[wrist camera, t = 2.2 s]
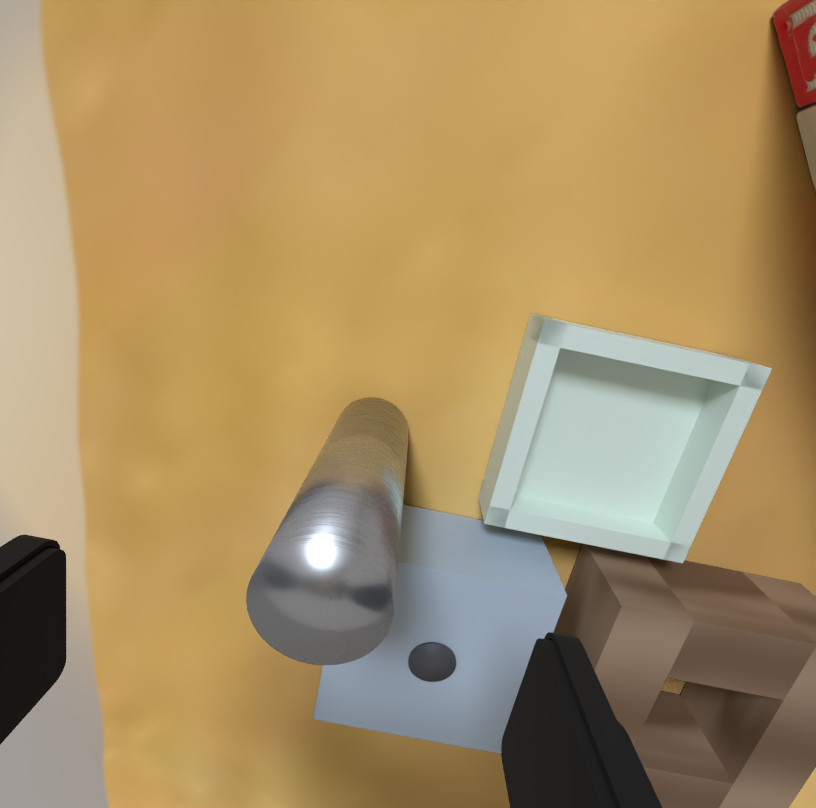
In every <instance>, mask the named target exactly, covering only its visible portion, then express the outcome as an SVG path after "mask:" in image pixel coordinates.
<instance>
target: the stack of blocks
mask: <svg viewBox="0 0 816 808" xmlns="http://www.w3.org/2000/svg"><path fill="white" fill-rule="evenodd" d="M773 21H774V25H775V28H776V31H777V34H778V38H779V42H780V46H781V49H782V53H783V56H784V60H785V64H786V67H787V71H788V74H789V78H790V83H791V87H792V89H793V92H794V96H795V102H796V104H797V105H798V106H799V108H800V110H799V112H798V113H797V122H798V126H799V130H800V134H801V138H802V142H803V146H804V150H805V154H806V158H807V162H808V166H809V170H810V173H811V177H812V181H813V184H814V187H815V190H816V0H788V1H787V2H785V3H784V4H783V5H781V6H780V7H779V8H778V9H777V10H776V11H775V12H774V13H773Z"/></svg>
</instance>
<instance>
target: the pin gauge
mask: <svg viewBox="0 0 816 808" xmlns="http://www.w3.org/2000/svg"><path fill="white" fill-rule="evenodd" d="M408 437H409V429H408V424H407V421H406V419H405V417H404V415H403V413H402V412H401V411H400V410H399V409H398V408H397V407H396V406H395V405H393V404H392V403H390V402H389V401H386V400H384V399H380V398H363V399H359V400H357V401H355V402H353V403H351V404H350V405H348V406H347V407H346V408H345V409H344V410H343V412H342V413H341V415H340V417H339V418H338V420H337V422H336V424H335V426H334V428H333V429H332V431H331V433H330V435H329V437H328V439H327V440H326V442H325V444H324V446H323V448H322V449H321V451H320V453H319V455H318V457H317V459H316V460H315V462H314V464H313V466H312V468H311V470H310V471H309V473H308V475H307V477H306V479H305V481H304V482H303V484H302V486H301V488H300V490H299V491H298V493H297V495H296V497H295V499H294V501H293V502H292V504H291V506H290V508H289V510H288V512H287V513H286V515H285V517H284V519H283V521H282V522H281V524H280V526H279V528H278V530H277V532H276V533H275V535H274V537H273V539H272V541H271V543H270V544H269V546H268V548H267V550H266V552H265V553H264V555H263V557H262V559H261V561H260V563H259V564H258V566H257V568H256V570H255V572H254V574H253V575H252V577H251V580H250V582H249V585H248V589H247V599H246V602H247V610H248V613H249V617H250V619H251V621H252V624H253V626H254V627H255V629H256V630H257V632H258V633H259V634H260V636H261V637H262V638H263V639H264V640H265V641H266V642H267V643H268V644H269V645H270V646H271V647H273V648H274V649H275V650H277V651H278V652H280V653H282V654H283V655H285V656H288V657H290V658H292V659H295V660H297V661H300V662H304V663H308V664H315V665H339V664H344V663H348V662H352V661H355V660H357V659H359V658H362V657H364V656H365V655H367V654H369V653H370V652H372V651H373V650H374V649H375V648H377V647H378V646H379V644H380V643H381V642H382V641H383V640H384V638H385V637H386V636H387V634H388V632H389V630H390V627H391V624H392V621H393V615H394V605H395V593H396V581H397V569H398V557H399V545H400V533H401V521H402V509H403V497H404V485H405V473H406V461H407V449H408Z"/></svg>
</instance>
